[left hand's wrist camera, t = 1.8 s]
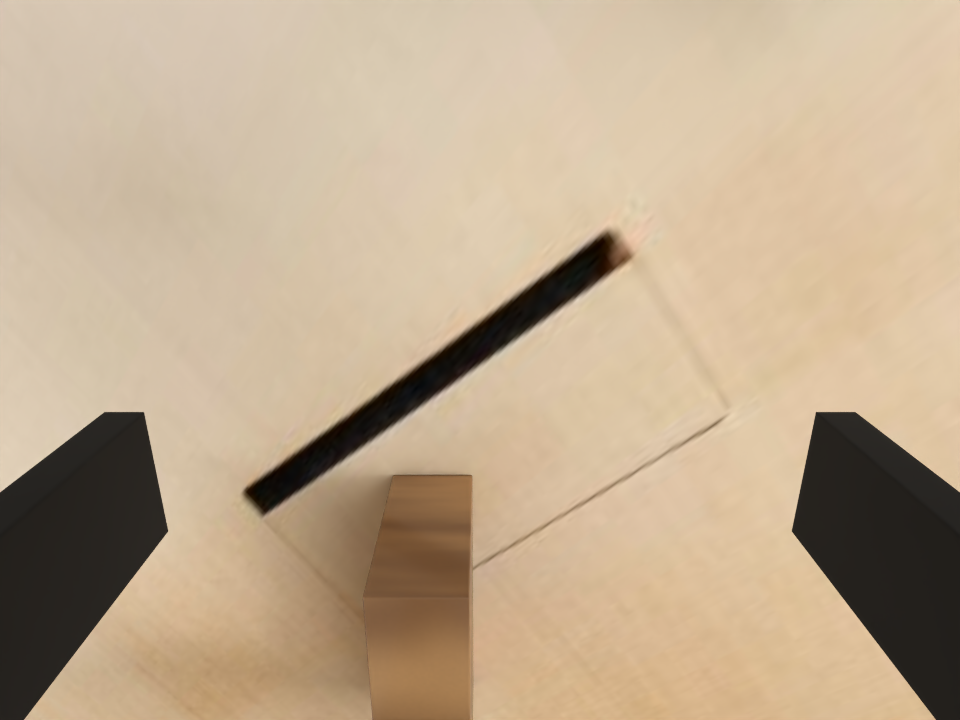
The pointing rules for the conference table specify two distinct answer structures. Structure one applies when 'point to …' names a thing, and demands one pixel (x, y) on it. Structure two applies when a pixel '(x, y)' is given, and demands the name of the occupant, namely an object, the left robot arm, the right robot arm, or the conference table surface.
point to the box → (422, 601)
